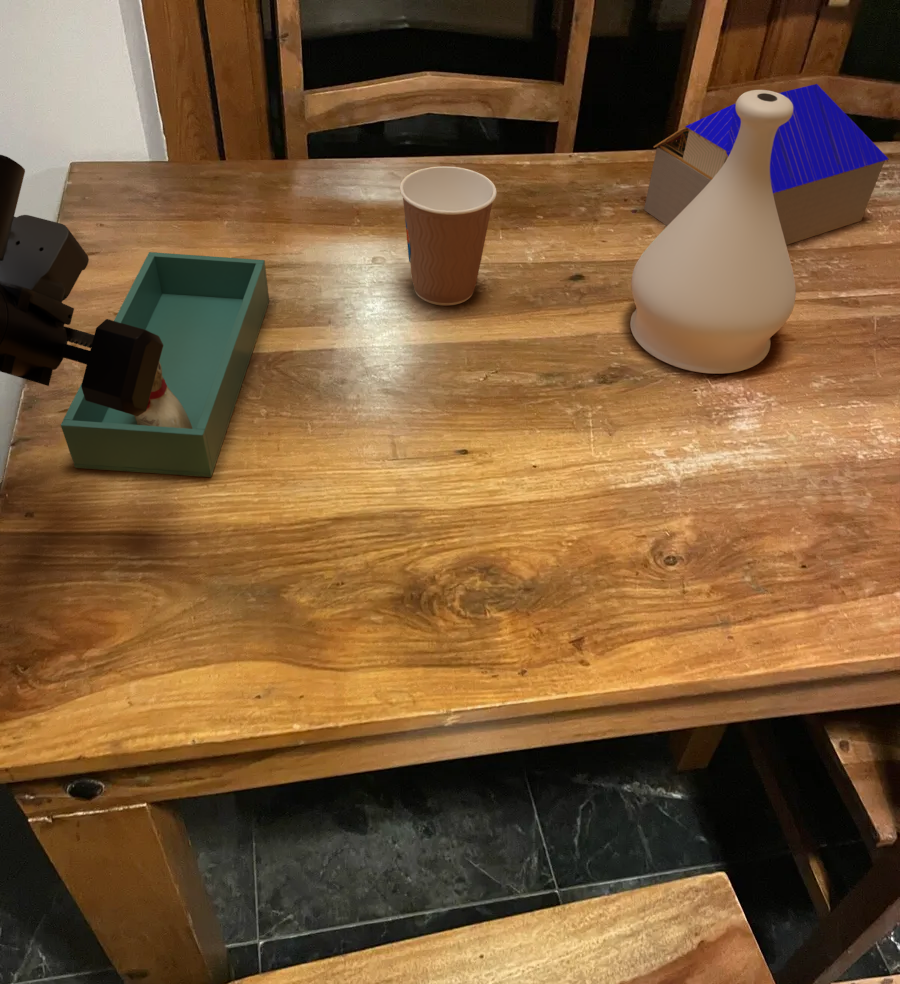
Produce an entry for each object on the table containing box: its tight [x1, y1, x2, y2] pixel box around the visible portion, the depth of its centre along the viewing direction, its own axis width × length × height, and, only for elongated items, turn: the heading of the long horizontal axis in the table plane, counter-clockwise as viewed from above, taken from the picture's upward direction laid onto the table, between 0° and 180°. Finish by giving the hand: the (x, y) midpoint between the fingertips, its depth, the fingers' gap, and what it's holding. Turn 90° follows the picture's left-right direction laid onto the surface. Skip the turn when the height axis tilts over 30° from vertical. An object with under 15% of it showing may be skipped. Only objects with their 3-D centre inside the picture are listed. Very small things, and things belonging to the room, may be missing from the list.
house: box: [643, 83, 890, 246], centre depth 117 cm, size 25×16×16 cm, turn 121°
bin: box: [60, 251, 270, 478], centre depth 94 cm, size 30×13×5 cm, turn 177°
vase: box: [629, 89, 797, 375], centre depth 95 cm, size 17×17×25 cm
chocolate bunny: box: [134, 362, 193, 429], centre depth 85 cm, size 6×8×10 cm
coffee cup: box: [399, 165, 497, 307], centre depth 104 cm, size 10×10×12 cm
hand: (104, 368), depth 79 cm, fingers open, 9 cm apart
